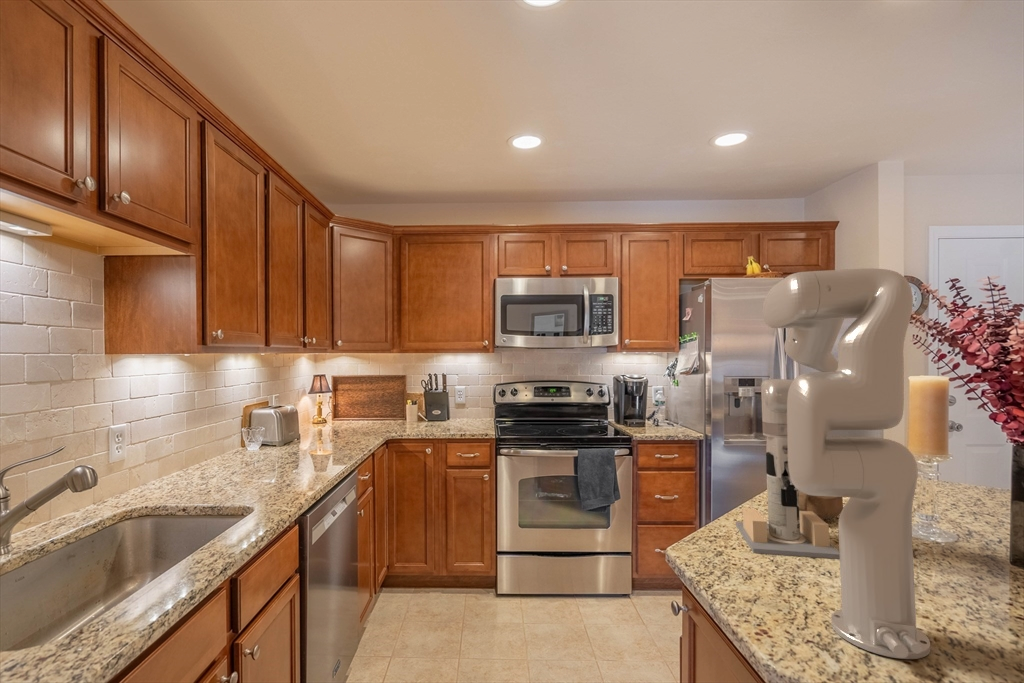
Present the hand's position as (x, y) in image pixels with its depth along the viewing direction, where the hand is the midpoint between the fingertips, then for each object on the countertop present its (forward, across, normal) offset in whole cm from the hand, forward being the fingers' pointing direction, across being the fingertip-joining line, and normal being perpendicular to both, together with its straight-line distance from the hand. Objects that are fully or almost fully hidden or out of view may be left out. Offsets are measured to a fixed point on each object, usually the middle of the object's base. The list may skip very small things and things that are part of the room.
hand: (782, 500), depth 116 cm
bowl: (+10, +19, -13) cm, 25 cm away
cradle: (+10, 0, 0) cm, 10 cm away
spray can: (+9, 0, 0) cm, 9 cm away
